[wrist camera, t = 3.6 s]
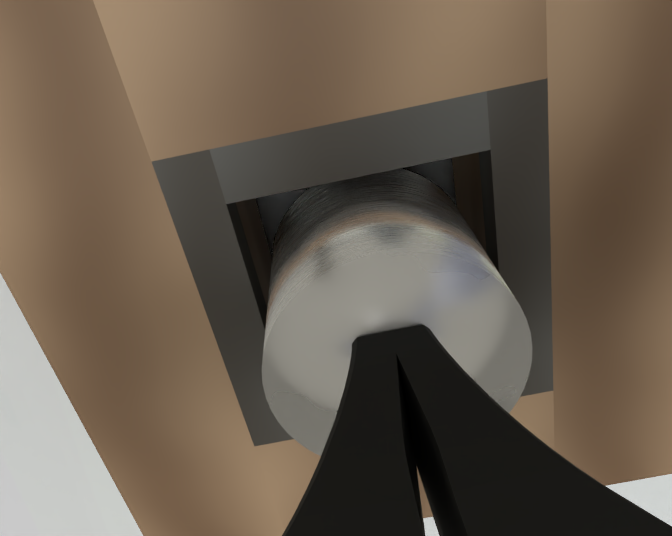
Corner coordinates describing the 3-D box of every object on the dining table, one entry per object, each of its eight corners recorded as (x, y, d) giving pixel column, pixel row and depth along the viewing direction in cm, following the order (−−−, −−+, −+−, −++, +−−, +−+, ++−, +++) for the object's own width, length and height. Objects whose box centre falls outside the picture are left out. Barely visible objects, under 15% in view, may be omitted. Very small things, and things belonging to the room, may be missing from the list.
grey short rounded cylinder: (459, 146, 13) (527, 224, 9) (476, 322, 16) (536, 445, 12) (249, 189, 14) (228, 283, 10) (297, 357, 16) (295, 488, 12)
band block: (632, -167, 14) (792, -230, 9) (610, 363, 21) (692, 469, 17) (-14, -20, 14) (-155, -13, 10) (188, 443, 22) (159, 565, 17)
